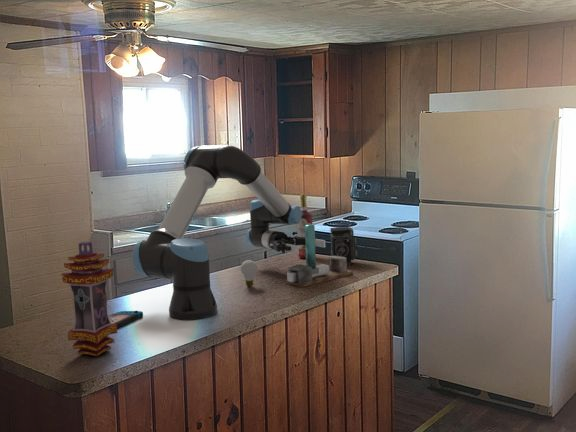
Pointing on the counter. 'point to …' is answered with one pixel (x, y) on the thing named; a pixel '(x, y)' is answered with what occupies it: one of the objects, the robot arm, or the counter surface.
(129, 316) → the gaming console
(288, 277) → the tube
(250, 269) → the light bulb
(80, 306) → the lantern
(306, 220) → the liquor
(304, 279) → the bench
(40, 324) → the counter surface
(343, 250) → the camera
